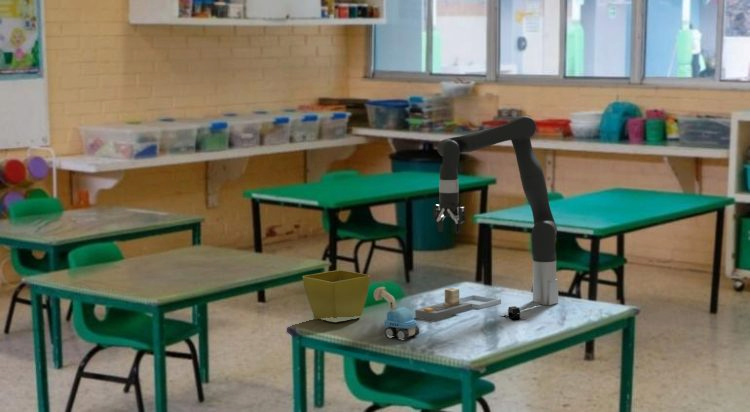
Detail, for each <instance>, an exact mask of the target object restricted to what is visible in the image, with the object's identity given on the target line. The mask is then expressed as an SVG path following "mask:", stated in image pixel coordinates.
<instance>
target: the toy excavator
mask: <svg viewBox="0 0 750 412" xmlns="http://www.w3.org/2000/svg"><path fill="white" fill-rule="evenodd" d="M373 298H374V299H375V301H377V302H378V301H381V300H383V299H384V300H385V301H386V302H387V303H388V312H387V313H386V319H384V321H383V322H384V323H383V324H384V326H385V329H384V335H385V336H386V335H389V336H395V337H396V338H397V339H398V338H401V339H406V340H408V339H409V337H413V336H414V337H417V336H418V335H419V333H420V327H419V326H418V325H417V324H418V323H417V321H416V320H415V319H414V318H413V313H412V312H411V311H410V310H409V308H407V307H404V306H403V307H399V308H397V304H396V299H395V296H393V295H392V294H391V293H389V292H388V291H387V290H386V287H385V286H380V287H377V288H376V289H375V290H374V292H373Z"/></svg>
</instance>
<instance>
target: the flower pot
mask: <svg viewBox="0 0 750 412" xmlns="http://www.w3.org/2000/svg"><path fill="white" fill-rule="evenodd" d="M370 280H371V275H369V274H365V273H360V272H355V271H349V270H342V269H337V270H332V271H330V270H329V271H325V272H319V273H313V274H306V275H303V276H302V282H303V286H304V291H305V293H306V297H307V301H308V304H309V307H310V309H311V311H312V314H313V317H314V319H315V320H318V319H321V318H326V317H327V318H330V317H333V318H337V317H354V316H362V314H363V310H364V309H365V304H366V301H367V297H368V293H369V289H370V282H371V281H370Z"/></svg>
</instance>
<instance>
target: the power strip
mask: <svg viewBox="0 0 750 412" xmlns="http://www.w3.org/2000/svg"><path fill="white" fill-rule="evenodd" d="M471 310H473V308H472V304H470V303H464V302H459V305H458V306H454V307H451V306H445V301H444V302H441V303H436V304H433V305H430V306H426V307H421V308H418V309H415V310H414V311H415V314H414V315H415V316H414V317H418V318H417V319H420V318H422V320H426V321H433V322H437V321H442V320H445V319H446V320H447V319H449V318H453V317H456V316H458V314H461V313H464V312H465V313H466V312H467V311H471Z"/></svg>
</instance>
